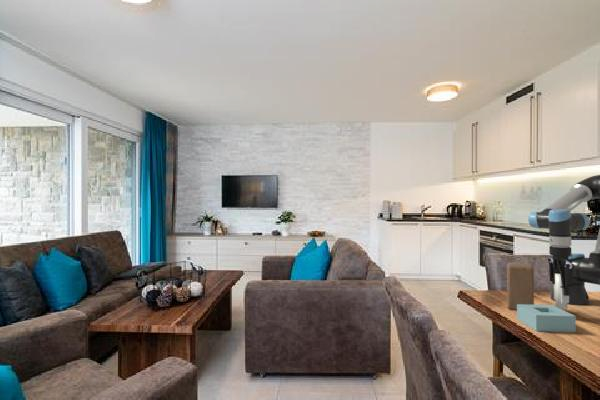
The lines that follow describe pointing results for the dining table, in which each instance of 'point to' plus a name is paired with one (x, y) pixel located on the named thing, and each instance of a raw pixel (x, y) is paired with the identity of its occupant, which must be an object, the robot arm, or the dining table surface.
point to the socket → (546, 318)
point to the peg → (559, 292)
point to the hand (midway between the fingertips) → (561, 301)
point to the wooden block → (520, 284)
